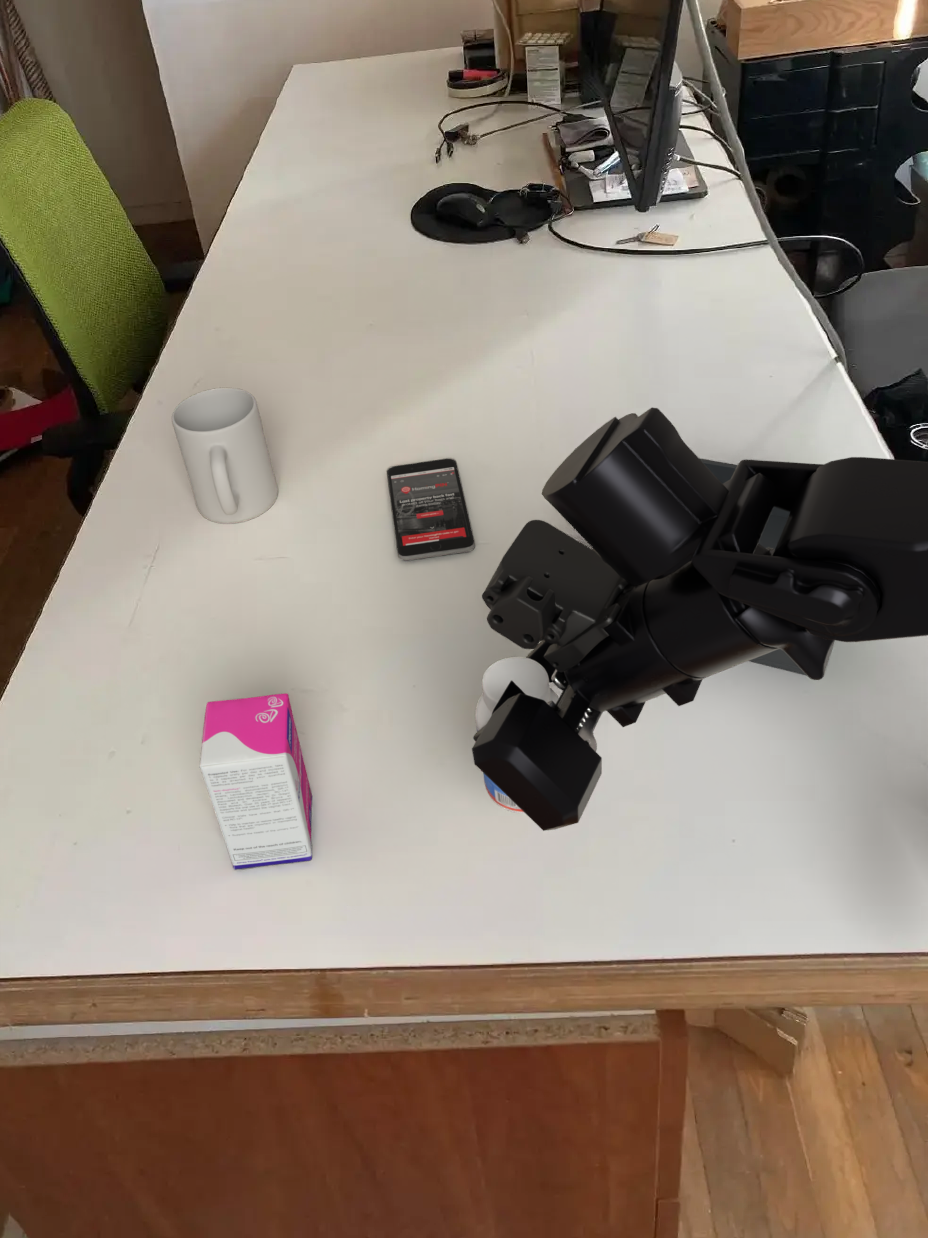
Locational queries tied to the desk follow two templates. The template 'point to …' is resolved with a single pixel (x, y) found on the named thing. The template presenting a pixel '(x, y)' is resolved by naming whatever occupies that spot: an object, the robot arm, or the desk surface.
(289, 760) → the supplement box
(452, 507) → the smartphone
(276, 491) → the mug
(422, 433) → the desk surface
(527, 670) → the pill bottle
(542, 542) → the robot arm
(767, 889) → the desk surface
